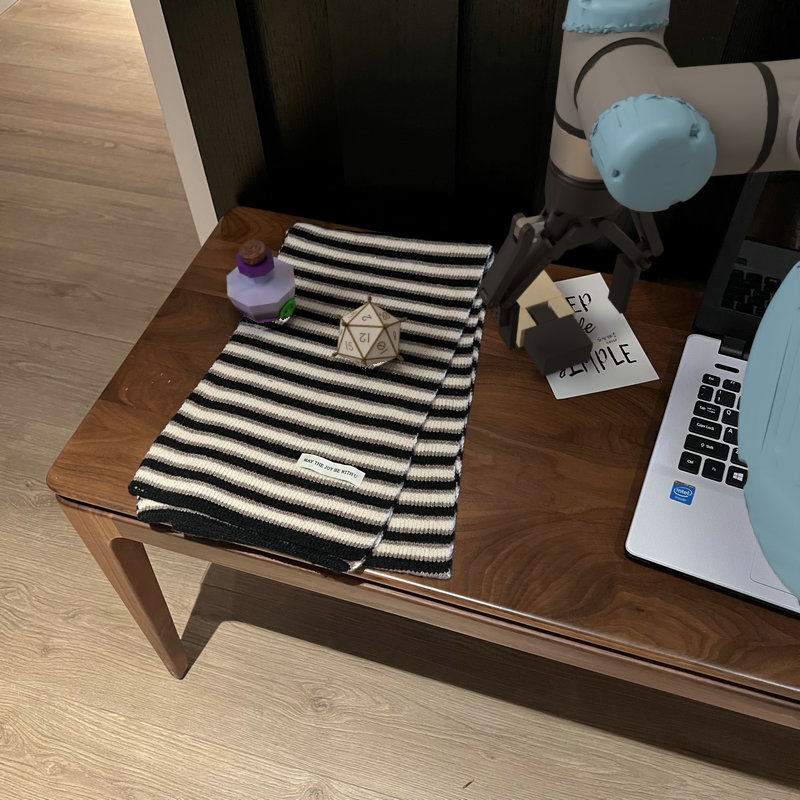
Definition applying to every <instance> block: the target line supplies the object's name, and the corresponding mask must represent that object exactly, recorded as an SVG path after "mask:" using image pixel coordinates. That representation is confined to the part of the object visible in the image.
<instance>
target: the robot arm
mask: <svg viewBox="0 0 800 800" xmlns="http://www.w3.org/2000/svg"><path fill="white" fill-rule="evenodd" d="M670 6H671V0H568V3H567V9H566V13H565V18H564V21H563V22H562V28H561V29H562V30H563V36H562V44H561V45H562V46H561V54H560V62H559V70H558V80H557V88H556V97H555V106H554V114H553V123H552V132H551V139H550V140H551V141H550V148H549V157H548V160H547V166H546V167H547V168H546V173H545V183H544V199H545V204H544V206H543V208H542V210H541V212H540V213H539V215H535V216H529V217H526V216H525V214H523V212H517V213H515V214H514V215H513V217H512V218H511V222H510V227H509V231H508V232H509V233H508V235H507V236H506V238H505V240H504V242H503V243H502V245H501V247H500V248H499V250H498V253H496V256H495V257H494V260H493V261H492V263H491V264H490V266H489V268H488V270H487V271H486V273H485V275H484V276H483V279H482V281H481V282H480V284H479V286H478V288H477V291H476V293H477V294H478V295H479V298H481V301H482V302H483V303H484V305H485V306H486V308H487V309H488V310H493V315H492V316H493V318H494V320H495V321H496V323H497V325H498V335H499V336H500V338H501V341H503V343H504V344H505V346H506V348H507V349H508V350H509V351H512V350H515V349H516V348H517V343H516V341H517V331H518V322H519V313H520V305H519V304H518V302H517V300H518V298H519V297H520V296H521V295H522V294H523V293H524V292H525V291H526V289H527V288H528V287H529V286H530V285H531V284H532V283H533V281H534V280H535V279H536V278H537V277H538V276H539V275H540V273H541V272H542V271H543V270H545V269H546V268H547V267H548V266H549V264H550V263H551V262H552V261H558V260H559V259H560V258H561V257H562V256H563V255H564V254H565V252H566V251H570V250H573V249H576V248H578V247H580V246H581V245H587V244H592V243H596V242H597V240H598V239H599V238H600V237H601V236H603V235H604V236H605V237H606V238H607V239H608V240H609V241H610V242H611V243H613V244H614V245H615V246H616V247H617V248H619V250H620V251H622V252H621V253H619V254H617V255H616V260H615V264H614V268H613V272H612V277H611V282H610V286H609V290H608V294H607V299H608V301H609V302H610V303H611V305H612V306H613V307H614V308H615V310H616V311H617V313H618V314H619V315H621V314H624V313H626V312H627V309H628V305H629V303H630V302H629V301H630V298H631V294H632V290H633V287H634V285H637V283H638V282H639V280H640V277H641V276H640V275H641V272H642V271H647V270H649V268H651V266H652V262H651V260H650V259H649V258H650V257H652V256H653V257H655V258H656V257H659V256H661V255H662V254H663V253H664V250H665V249H664V246H663V243H662V239H661V237H660V233H659V231H658V228H657V225H656V222H655V220H654V216H653V213H654V212H660V211H665V210H668V209H669V208H670V206H672V205H675V204H677V203H679V202H683V203H684V202H686V201H688V200H690V199H691V198H693V197H694V196H695V195H696V194H698V192H699V191H700V190H701V189H703V187H704V186H705V185H706V184H707V182H708V181H709V179H710V178H711V177H717V176H727V175H728V176H730V175H741V174H753V173H765V172H766V173H767V172H780V171H781V172H782V171H800V58H795V59H784V60H783V59H782V60H773V61H762V62H761V61H754V62H753V61H752V62H739V63H726V64H725V63H724V64H714V65H713V64H711V65H698V66H686V67H678V66H677V65H676V64H675V63H676V62H674V60H673V58H672V56H671V54H670V53H669V50H668V49H667V47H666V45H665V43H664V35H665V31H666V28H667V26H669V23H670V18H669V15H670ZM625 208H627V209H628V210H629V213H630V216H631V218H632V221H633V223H634V226H635V229H636V232H637V234H638V237H639V240H640V241H639V242H638V243H635V242H634V241H633V240H632V239H631V238H630V237H629V236H628V235H627V234H626V233H625V232H624V231H622V229H621V228H619V226H618V225H616V224H615V223H614V221H615V220H616V219H617V217H619V215H620V214H621V213H622V212H623V210H624V209H625ZM549 237H550V238H551V239H552V240H553V241H554V242H555V244H554V245H553V244H552V243H551V242H550V240H549ZM740 391H741V392H740V397H739V398H740V399H739V408H738V418H737V419H738V420H737V459H738V460H739V461H740V462H741V463H743V464H745V465H746V467H747V479H746V482H745V484H744V486H743V488H742V494H743V499H744V504H745V509H746V511H747V515H748V521H749V523H750V527H751V529H752V532H753V534H754V537H755V540H756V541H757V544H758V546H759V549H760V551H761V553H762V555H763V557H764V558H765V561H766V562H767V564H768V566H769V567H770V568H771V570H772V572H773V573H774V575H775V576H776V577H777V579H778V580H779V581H780V582H781V584H782V585H783V586H784V587H785V588H786V589H787V590H788V591H789V592H790V593H791V594H792V595H793V597H795V598H796V599H797V603H798V606H800V260H799V261H797V263H796V264H795V265H793V267H792V268H791V269H790V271H789V272H788V273H787V274H786V276H785V277H784V279H783V281H782V282H781V284H780V286H779V287H778V289H777V290H776V292H775V293H774V295H773V297H772V299H771V300H770V302H769V304H768V305H767V308H766V310H765V312H764V314H763V316H762V319H761V321H760V323H759V326H758V328H757V330H756V333H755V336H754V339H753V342H752V345H751V349H750V352H749V356H748V359H747V363H746V367H745V371H744V375H743V380H742V385H741V390H740Z"/></svg>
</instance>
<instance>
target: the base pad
mask: <svg viewBox="0 0 800 800" xmlns="http://www.w3.org/2000/svg"><path fill="white" fill-rule="evenodd" d="M517 302H518V304H519V305H520V313H519V322H518V331H517V341H516V346H517V347H518V348H523V347H524V338H525V330H526V329H527V328H530V327H533V326H537V325H536V324H535V322H534V321H533V319H532V318H531V316H530V312H531V310H532V309H535V308H538V307H541V306H544V305H548V306H549V308H550V309H551V311H552V312H553V314H554V315H555V316H556V318H557V319H558V318H561V317H564V316H567V315H570V314H572V315H573V316H574V317H575V316H576V311H575V310H574V309H573V307H572V305H570V303H569V302H568V301H567V299H566V298H565V297H564V295H563V294H562V292H561V291H560V290H559V288H558V287H557V285H556V284H555V283H554V281H553V279H552V278H551V277H550V275H549V274H548V273H547V271H545V269H544V270H543V271H542V272H541V273H540V275H539V276H538V277H537V278H536V279H535V280H534V281H533V283H532V284H531V285H530V286H529V287H528V288H527V289H526V291H525V292H524V293H523V294H522V295H521V296H520V297H519V298H518V300H517Z"/></svg>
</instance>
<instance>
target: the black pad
mask: <svg viewBox="0 0 800 800" xmlns="http://www.w3.org/2000/svg"><path fill="white" fill-rule="evenodd" d="M530 316H531V318H532V319H533V321H534V322H535V324H536V325H537V326H533V327H530V328H527V329H526V330H525V338H524V346H523V348H524V350H525V351H526V353H527V354H528V356H529V357H530V359H531V360H532V362H533V364H534V365H535V367H536V368H537V370H538V371H539V373H540V375H541V376H542V377H546V376H549V375H552V374H555V373H558V372H560V371H564V370H567V369H570V368H572V367H575V366H579V365H582V364H584V363H587V362H590V359H591V356H592V355H591V354H592V351H593V346H594V342H593V341H592V340H591V338H590V337H589V335H588V334H587V333H586V331H585V330H584V329H583V327H582V326H581V324H580V323H579V322H578V320H577V319H576V318H575V316H573V315H572V314H570V315H567V316H564V317H561V318H558V319H557V318H556V316H555V315H554V314H553V312H552V311H551V309H550V308H549V306H548V305H544V306H541V307H538V308H535V309H532V310H531V312H530Z"/></svg>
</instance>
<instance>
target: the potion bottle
mask: <svg viewBox="0 0 800 800" xmlns="http://www.w3.org/2000/svg"><path fill="white" fill-rule="evenodd" d="M226 291H227V293H226V294H227V297H228V299H229V300H230V301H231V303H232V304H233V306H234V307H235V309H236V310H237V311H238V313H240V314H242V315H243V317H244V318H245V317H247V318H249V319H251V320H253V321H255V322H257V323H264V322H269V321H276V320H279V319H280V318H281V319H282V320H284V319H286V318H288V317H289V316H290V315H291V316H292V315H293V313H294V312H295V311H296V304H297V302H296V300H295V293H296V279H295V272H294V266H293V265H292V264H290V263H287V262H285V261H283V260H282V259H279V258H278V257H275V256H274V253H273V249H272V248H270V247H268V246H266V244H265V242H264V241H263V240H260V239H255V238H254V239H250V240H247V241H245V242H243V243H242V244H241V246H240V247H239V248H238V253H236V267H235V268H234V269H233V270H232V271H230V272H229V273H228V274H227V275H226ZM245 320H246V321H247V319H246V318H245Z"/></svg>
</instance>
